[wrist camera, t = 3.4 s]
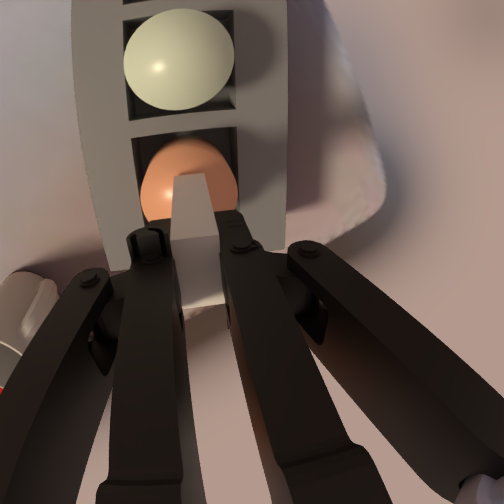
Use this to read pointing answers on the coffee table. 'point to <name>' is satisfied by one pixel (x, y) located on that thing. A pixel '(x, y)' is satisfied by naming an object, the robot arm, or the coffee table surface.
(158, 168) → the orange egg
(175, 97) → the pale green egg
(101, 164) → the grey socket tray
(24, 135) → the coffee table surface
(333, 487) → the robot arm
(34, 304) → the cup
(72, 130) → the coffee table surface
